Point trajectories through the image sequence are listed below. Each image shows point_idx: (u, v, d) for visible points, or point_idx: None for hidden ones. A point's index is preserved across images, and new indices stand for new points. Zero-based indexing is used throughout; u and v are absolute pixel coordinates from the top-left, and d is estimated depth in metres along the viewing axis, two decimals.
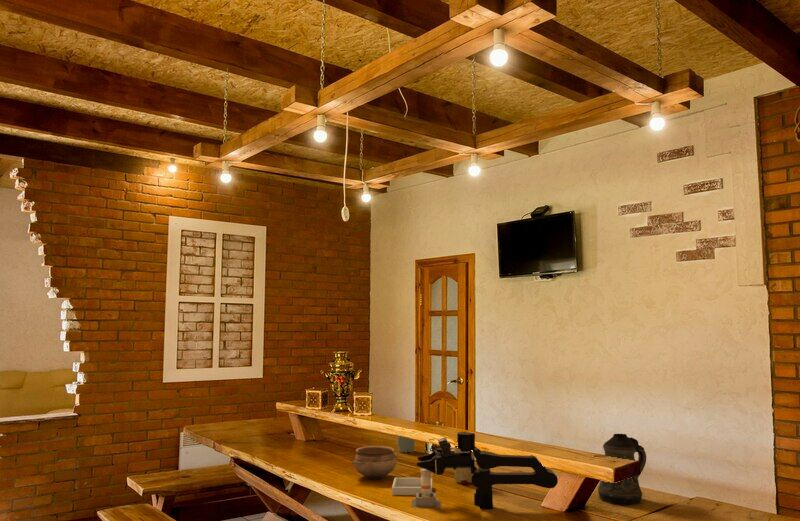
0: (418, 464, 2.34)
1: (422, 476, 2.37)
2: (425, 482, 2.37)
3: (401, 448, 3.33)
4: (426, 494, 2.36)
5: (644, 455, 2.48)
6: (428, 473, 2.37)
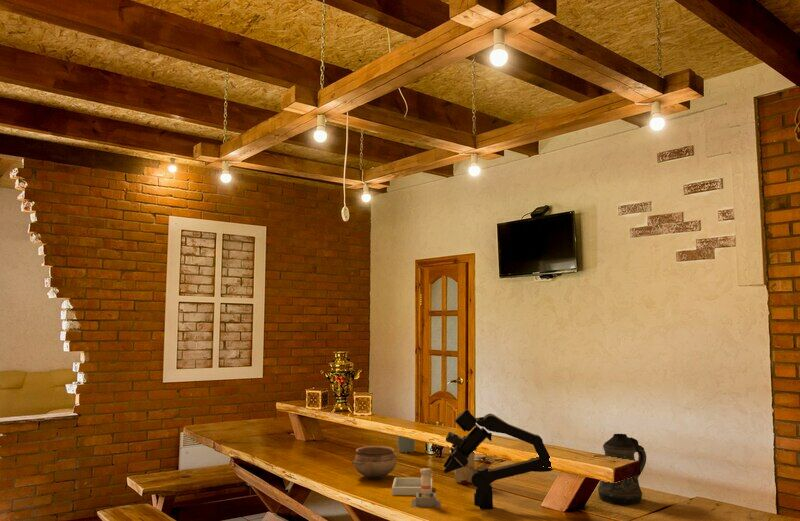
0: (445, 471, 2.33)
1: (422, 476, 2.37)
2: (425, 482, 2.37)
3: (401, 448, 3.33)
4: (426, 494, 2.36)
5: (644, 455, 2.48)
6: (428, 473, 2.37)
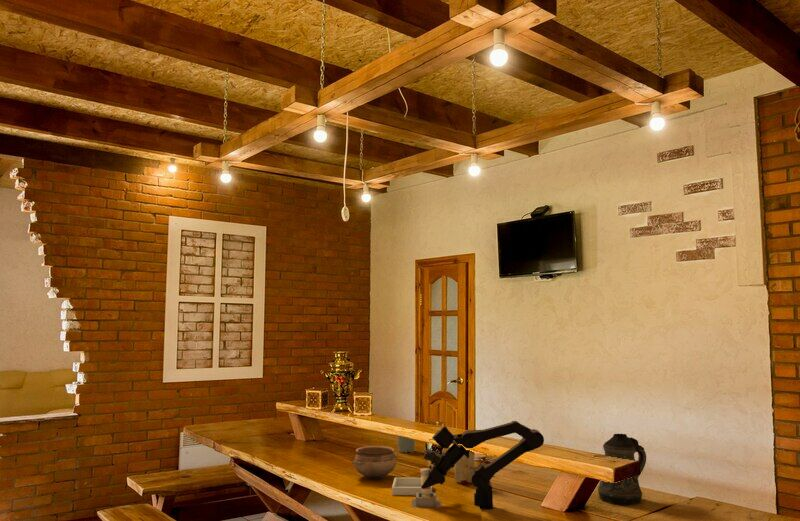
0: (423, 487, 2.36)
1: (422, 476, 2.37)
2: None
3: (401, 448, 3.33)
4: (426, 494, 2.36)
5: (644, 455, 2.48)
6: (428, 473, 2.37)
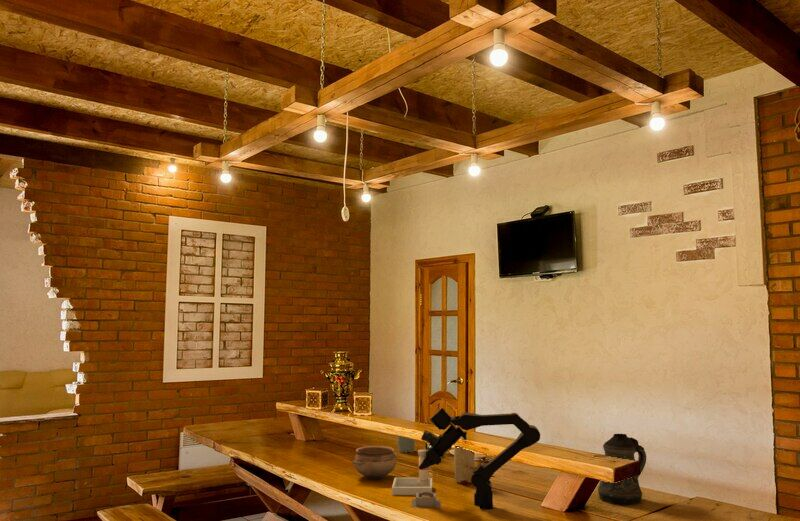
0: (420, 468, 2.38)
1: (419, 457, 2.39)
2: None
3: (401, 448, 3.33)
4: (423, 474, 2.38)
5: (644, 455, 2.48)
6: None
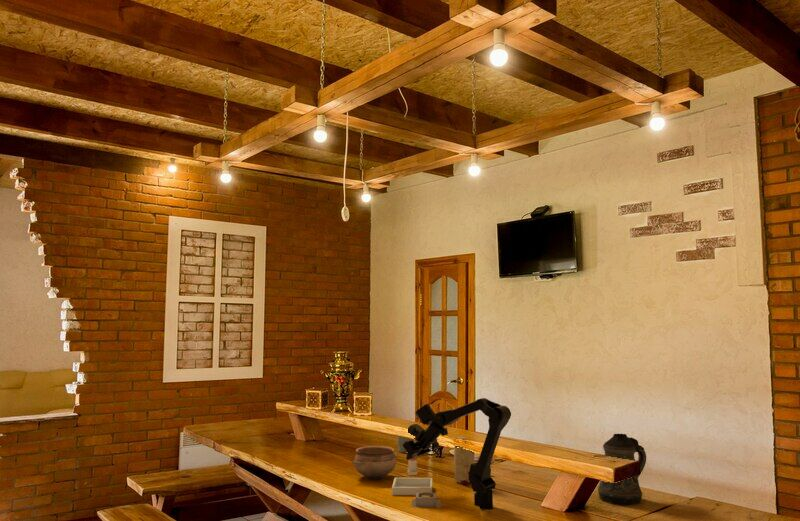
0: (407, 458, 2.57)
1: None
2: None
3: (401, 448, 3.33)
4: (410, 464, 2.56)
5: (644, 455, 2.48)
6: None
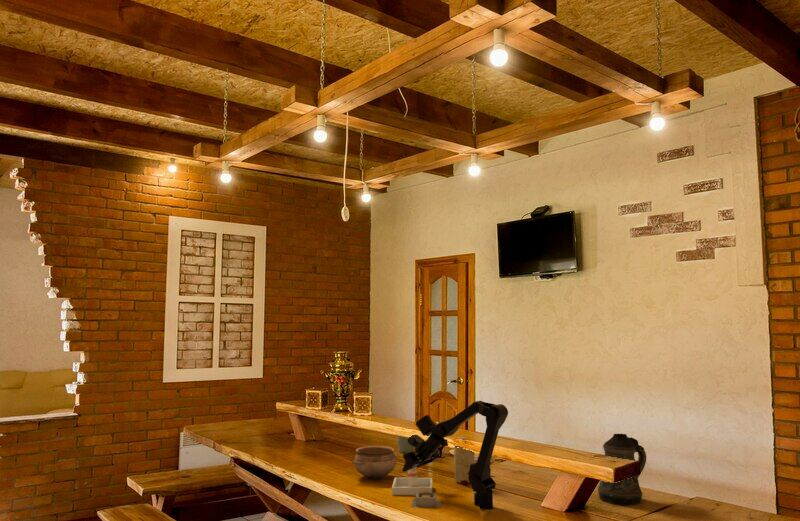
0: (403, 470, 2.54)
1: None
2: (409, 470, 2.56)
3: (401, 448, 3.33)
4: (410, 481, 2.56)
5: (644, 455, 2.48)
6: None
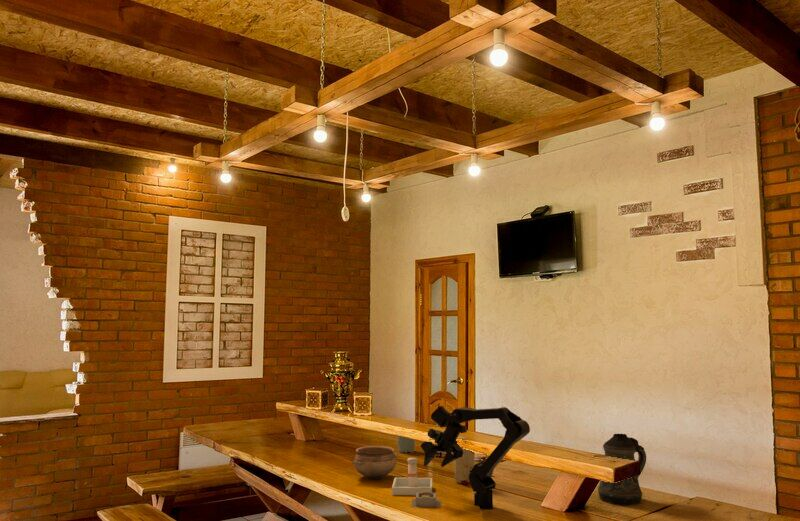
0: (424, 464, 2.48)
1: (408, 464, 2.58)
2: (409, 470, 2.56)
3: (401, 448, 3.33)
4: (410, 481, 2.56)
5: (644, 455, 2.48)
6: (412, 462, 2.56)
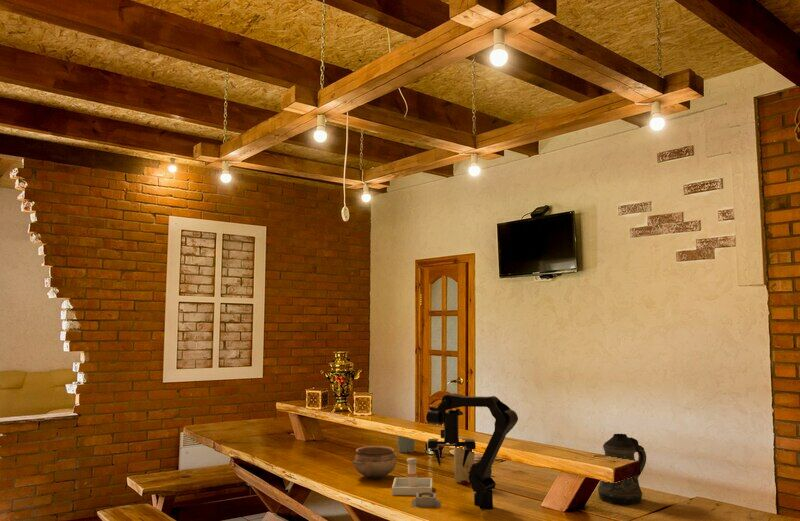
0: (439, 464, 2.46)
1: None
2: (409, 470, 2.56)
3: (401, 448, 3.33)
4: (410, 481, 2.56)
5: (644, 455, 2.48)
6: (411, 462, 2.56)
